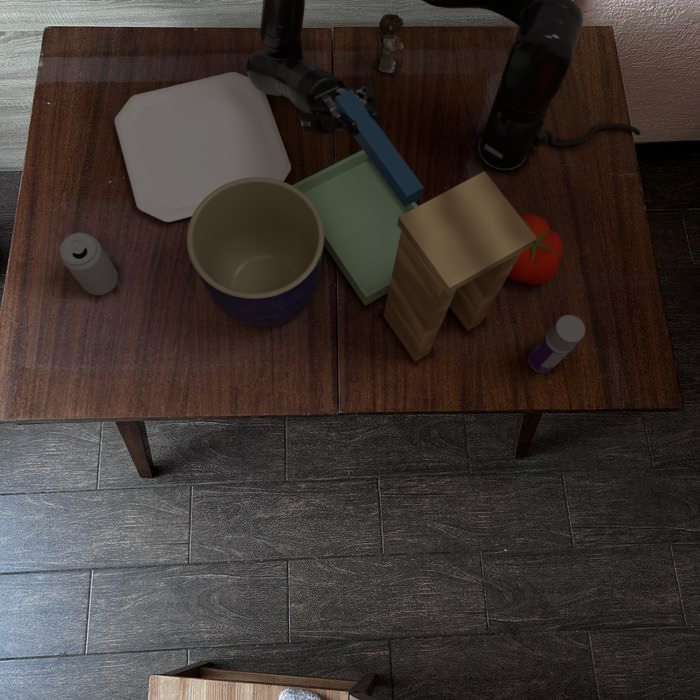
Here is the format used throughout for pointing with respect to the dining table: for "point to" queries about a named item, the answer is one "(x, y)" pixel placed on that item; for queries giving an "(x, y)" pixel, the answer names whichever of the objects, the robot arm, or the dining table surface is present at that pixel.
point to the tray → (358, 221)
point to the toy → (389, 40)
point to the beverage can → (89, 263)
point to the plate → (197, 142)
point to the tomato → (538, 254)
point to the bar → (380, 150)
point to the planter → (257, 249)
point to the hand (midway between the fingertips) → (366, 124)
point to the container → (556, 343)
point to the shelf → (452, 260)
